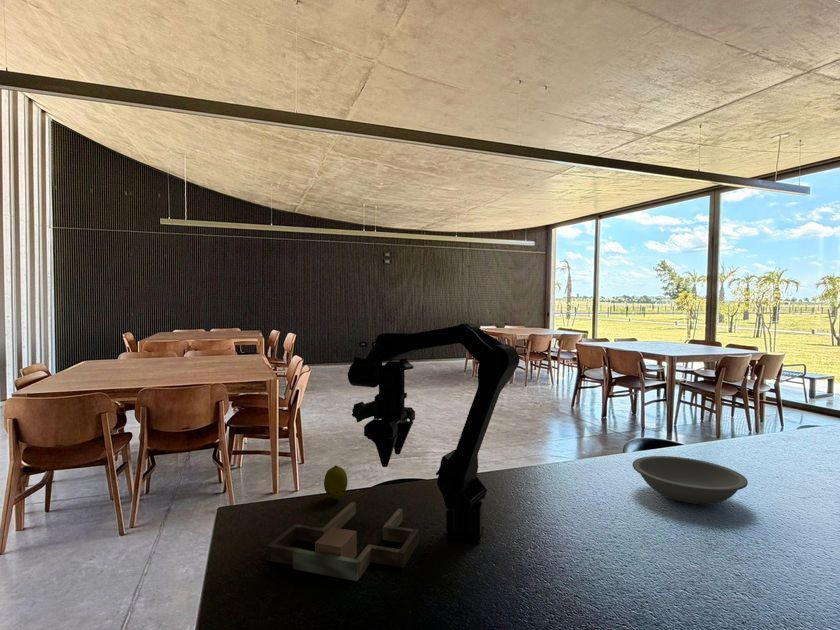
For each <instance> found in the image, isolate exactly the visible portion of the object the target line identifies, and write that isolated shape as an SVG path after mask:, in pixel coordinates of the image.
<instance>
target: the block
mask: <svg viewBox="0 0 840 630" xmlns="http://www.w3.org/2000/svg"><path fill="white" fill-rule="evenodd" d="M357 534H358V532H357V530H351V529H345V528H341V529H340V528H334V527H332V528H331V529H330V530H329V531H327V532H326V533H325V534H324V535H323V536H322V537H321V538H320V539H319V540H318V541H316V542H315V543H314V552H319V553H325V554H331V555H336V556H342V557H348V558H353V559H356V558H357V557H356V556H357V555H358V553H357V551H358V549H357V546H358V543H357V542H358V541H357V540H358V539H357V537H358V536H357Z"/></svg>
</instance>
